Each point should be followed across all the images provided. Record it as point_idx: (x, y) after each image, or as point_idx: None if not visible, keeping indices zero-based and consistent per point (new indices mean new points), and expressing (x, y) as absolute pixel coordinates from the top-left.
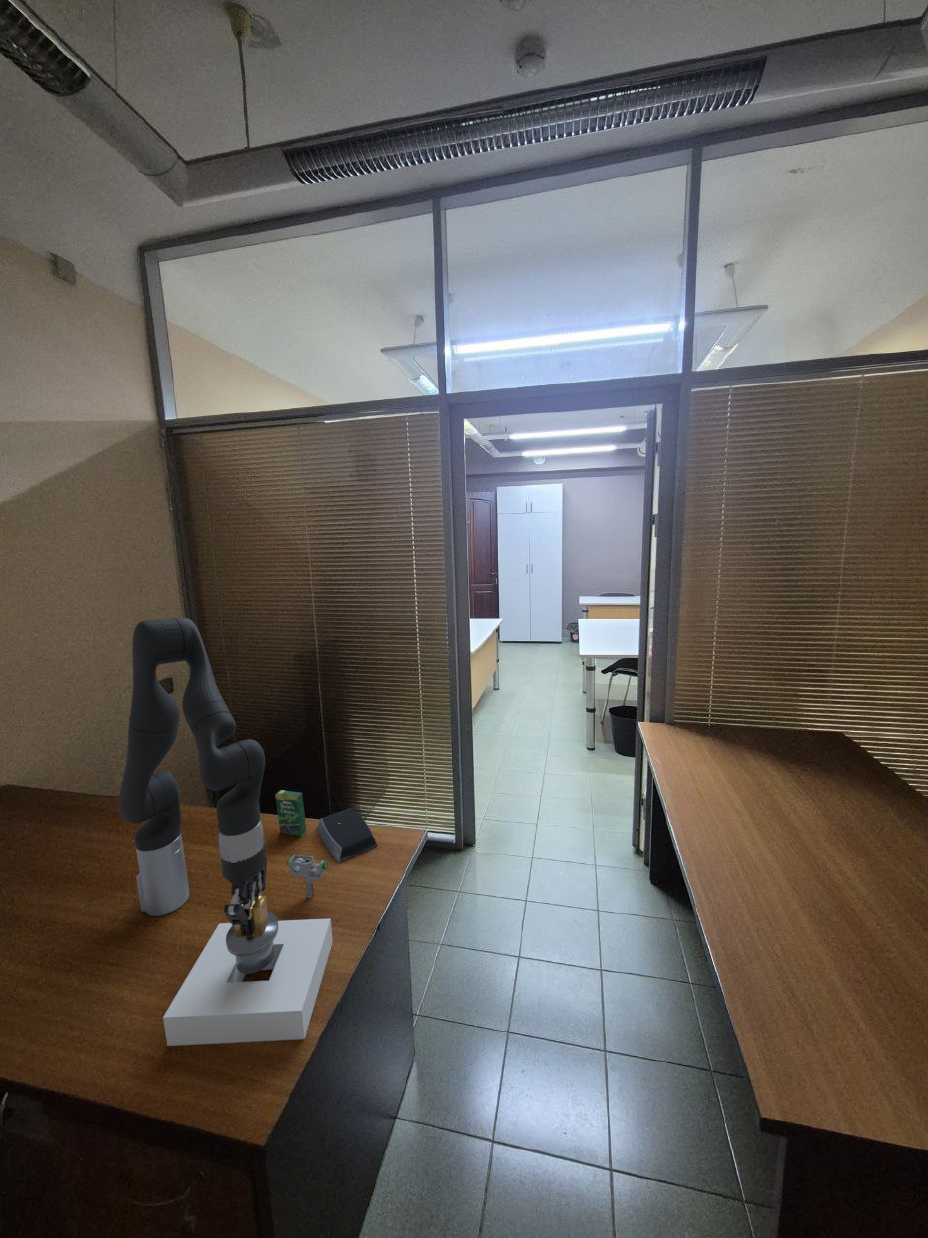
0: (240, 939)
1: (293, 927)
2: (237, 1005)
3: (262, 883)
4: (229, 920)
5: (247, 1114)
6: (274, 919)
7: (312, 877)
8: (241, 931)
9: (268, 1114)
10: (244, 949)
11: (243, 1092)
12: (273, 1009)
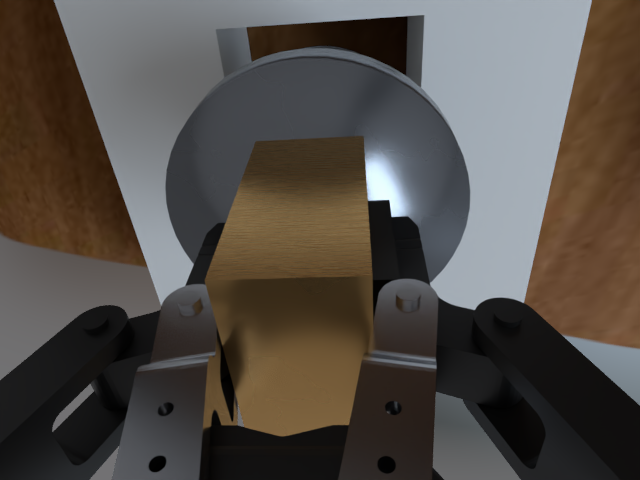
0: (240, 179)
1: (502, 207)
2: (133, 136)
3: (497, 439)
4: (4, 379)
5: (13, 199)
6: None
7: None
8: (202, 249)
9: (32, 240)
10: (178, 231)
11: (46, 170)
12: (153, 257)
